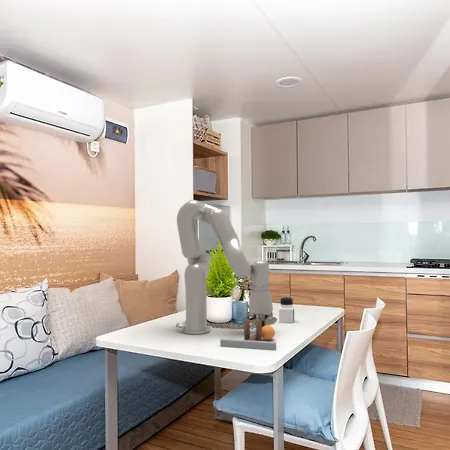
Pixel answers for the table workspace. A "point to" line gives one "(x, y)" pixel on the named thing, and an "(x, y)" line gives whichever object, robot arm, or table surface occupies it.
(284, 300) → the medicine bottle
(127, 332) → the table surface
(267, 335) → the ball
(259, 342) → the stopper rail
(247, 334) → the back pin left
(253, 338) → the front pin
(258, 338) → the back pin right
